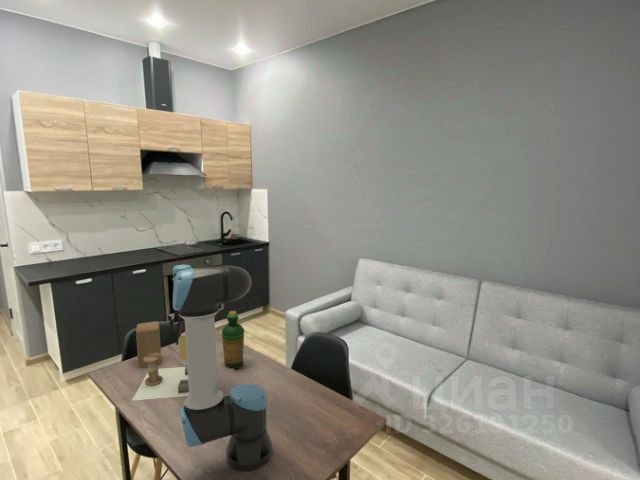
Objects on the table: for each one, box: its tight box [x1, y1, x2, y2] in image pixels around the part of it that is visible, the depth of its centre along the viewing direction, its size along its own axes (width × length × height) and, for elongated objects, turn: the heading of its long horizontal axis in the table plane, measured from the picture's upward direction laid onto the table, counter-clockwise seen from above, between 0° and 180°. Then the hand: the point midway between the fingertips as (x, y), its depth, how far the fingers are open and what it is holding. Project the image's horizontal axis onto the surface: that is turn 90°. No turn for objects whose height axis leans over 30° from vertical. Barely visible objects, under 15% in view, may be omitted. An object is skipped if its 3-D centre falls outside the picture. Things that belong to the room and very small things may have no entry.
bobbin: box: [144, 353, 163, 386], centre depth 155 cm, size 7×7×12 cm
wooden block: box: [135, 320, 162, 369], centre depth 171 cm, size 10×10×20 cm
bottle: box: [221, 310, 245, 370], centre depth 170 cm, size 11×11×28 cm
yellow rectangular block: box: [180, 333, 187, 360], centre depth 155 cm, size 4×4×10 cm
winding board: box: [132, 366, 189, 402], centre depth 156 cm, size 24×22×1 cm
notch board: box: [178, 364, 189, 393], centre depth 157 cm, size 19×4×3 cm, turn 10°
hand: (186, 350), depth 155 cm, fingers closed on yellow rectangular block, 4 cm apart
